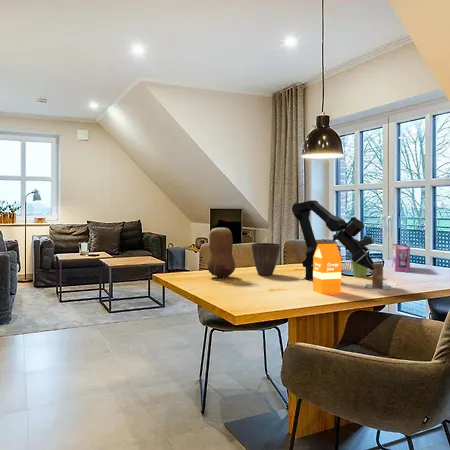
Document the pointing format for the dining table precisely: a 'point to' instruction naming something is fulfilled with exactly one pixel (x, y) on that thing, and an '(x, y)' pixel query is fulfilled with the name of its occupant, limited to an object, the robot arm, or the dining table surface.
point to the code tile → (389, 284)
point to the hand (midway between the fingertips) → (374, 268)
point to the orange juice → (327, 269)
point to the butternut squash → (221, 253)
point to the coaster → (385, 287)
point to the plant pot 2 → (358, 270)
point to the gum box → (401, 257)
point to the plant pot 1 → (265, 257)
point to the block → (377, 275)
